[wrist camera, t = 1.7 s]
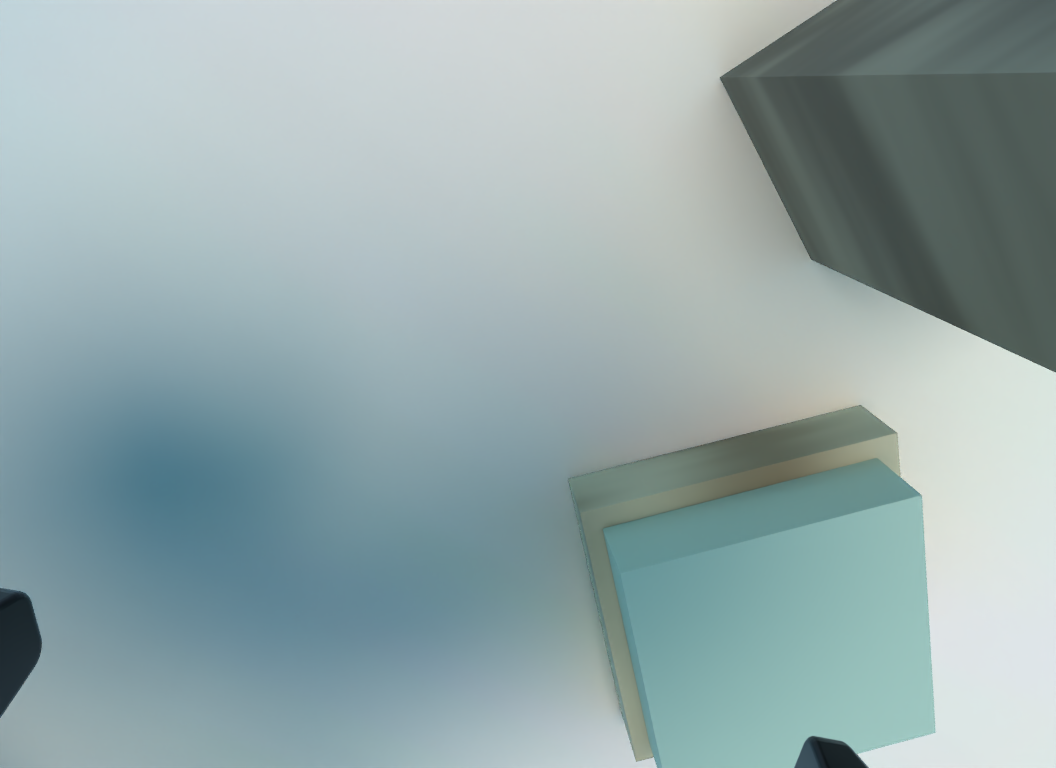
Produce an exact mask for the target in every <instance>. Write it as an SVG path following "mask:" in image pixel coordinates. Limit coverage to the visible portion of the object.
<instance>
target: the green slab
mask: <svg viewBox="0 0 1056 768" xmlns="http://www.w3.org/2000/svg"><path fill="white" fill-rule="evenodd" d="M603 533H604V538H605V542H606V547H607V551H608V556H609V561H610V565H611V570H612V574H613V579H614V583H615V588H616V593H617V597H618V602H619V606H620V611H621V615H622V620H623V625H624V629H625V634H626V638H627V643H628V647H629V652H630V657H631V661H632V666H633V670H634V675H635V680H636V684H637V689H638V693H639V698H640V702H641V707H642V712H643V716H644V721H645V725H646V730H647V734H648V739H649V744H650V747H651V750H652V753H653V756H654V759H655V762H656V765H657V768H794V767H795V764H796V762H797V759H798V757H799V754H800V752H801V749H802V747H803V744H804V742H805V741H806V739H807V738H808V737H810V736H818V737H823V738H829V739H834V740H839V741H843V742H845V743H846V744H847V745H849V746H850V747H851V748H852V749H853V750H854V752H855V753H856V754H858V753H862V752H866V751H869V750H873V749H877V748H880V747H884V746H888V745H892V744H895V743H899V742H903V741H906V740H910V739H914V738H918V737H921V736H925V735H929V734H932V733H935V716H934V698H933V681H932V664H931V647H930V630H929V613H928V595H927V578H926V561H925V544H924V527H923V510H922V495H921V494H920V493H918V492H917V491H916V490H915V489H914V488H912V487H911V486H910V485H909V484H908V483H906V482H905V481H904V480H903V479H902V478H900V477H899V476H898V475H897V474H896V473H895V472H893V471H892V470H891V469H890V468H889V467H887V466H886V465H885V464H884V463H883V462H881V461H880V460H879V459H878V458H874V459H870V460H866V461H863V462H859V463H855V464H851V465H847V466H843V467H839V468H835V469H832V470H828V471H824V472H820V473H816V474H812V475H808V476H804V477H800V478H797V479H793V480H789V481H785V482H781V483H777V484H773V485H769V486H766V487H762V488H758V489H754V490H750V491H746V492H742V493H738V494H735V495H731V496H727V497H723V498H719V499H715V500H711V501H707V502H704V503H700V504H696V505H692V506H688V507H684V508H680V509H676V510H673V511H669V512H665V513H661V514H657V515H653V516H649V517H645V518H642V519H638V520H634V521H630V522H626V523H622V524H618V525H614V526H611V527H607V528H603Z"/></svg>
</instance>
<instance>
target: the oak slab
mask: <svg viewBox="0 0 1056 768" xmlns="http://www.w3.org/2000/svg"><path fill="white" fill-rule="evenodd" d="M874 458H878V459H879V460H880V461H881V462H883V463H884V464H885V465H886V466H887V467H889V468H890V469H891V470H892V471H893V472H895V473H896V474H897V475H898V476H899V477H900V466H899V451H898V436H897V432H895V431H894V430H893V429H891V428H890V427H889V426H887V425H886V424H885V423H883V422H882V421H881V420H879V419H878V418H877V417H876V416H874V415H873V414H872V413H870V412H869V411H868V410H866V409H865V408H864V407H862V406H861V405H859V406H855V407H851V408H847V409H843V410H839V411H835V412H831V413H827V414H823V415H819V416H815V417H811V418H807V419H803V420H799V421H795V422H791V423H787V424H783V425H779V426H775V427H771V428H767V429H763V430H759V431H756V432H752V433H748V434H744V435H740V436H736V437H732V438H728V439H724V440H720V441H716V442H712V443H708V444H704V445H700V446H696V447H692V448H688V449H684V450H680V451H676V452H672V453H668V454H664V455H660V456H656V457H652V458H648V459H644V460H640V461H637V462H633V463H629V464H625V465H621V466H617V467H613V468H609V469H605V470H601V471H597V472H593V473H589V474H585V475H581V476H577V477H573V478H569V479H568V480H569V484H570V489H571V493H572V498H573V502H574V506H575V511H576V515H577V520H578V524H579V528H580V533H581V537H582V541H583V546H584V550H585V555H586V559H587V563H588V568H589V572H590V577H591V581H592V585H593V590H594V594H595V599H596V603H597V607H598V612H599V616H600V620H601V625H602V629H603V634H604V638H605V642H606V647H607V651H608V656H609V660H610V664H611V669H612V673H613V677H614V682H615V686H616V691H617V695H618V699H619V704H620V708H621V713H622V716H623V720H624V723H625V726H626V730H627V733H628V736H629V739H630V743H631V746H632V749H633V752H634V756H635V759H636V762H637V761H641V760H645V759H649V758H652V757H654V756H653V753H652V750H651V747H650V744H649V739H648V734H647V730H646V725H645V721H644V716H643V712H642V707H641V702H640V698H639V693H638V689H637V684H636V680H635V675H634V670H633V666H632V661H631V657H630V652H629V647H628V643H627V638H626V634H625V629H624V625H623V620H622V615H621V611H620V606H619V602H618V597H617V593H616V588H615V583H614V579H613V574H612V570H611V565H610V561H609V556H608V551H607V547H606V542H605V538H604V533H603V528H607V527H611V526H614V525H618V524H622V523H626V522H630V521H634V520H638V519H642V518H645V517H649V516H653V515H657V514H661V513H665V512H669V511H673V510H676V509H680V508H684V507H688V506H692V505H696V504H700V503H704V502H707V501H711V500H715V499H719V498H723V497H727V496H731V495H735V494H738V493H742V492H746V491H750V490H754V489H758V488H762V487H766V486H769V485H773V484H777V483H781V482H785V481H789V480H793V479H797V478H800V477H804V476H808V475H812V474H816V473H820V472H824V471H828V470H832V469H835V468H839V467H843V466H847V465H851V464H855V463H859V462H863V461H866V460H870V459H874Z"/></svg>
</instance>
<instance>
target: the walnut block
mask: <svg viewBox="0 0 1056 768" xmlns="http://www.w3.org/2000/svg"><path fill="white" fill-rule="evenodd" d="M720 79H721V81H722V83H723V85H724V87H725V89H726V91H727V93H728V95H729V97H730V98H731V100H732V102H733V104H734V106H735V108H736V110H737V112H738V114H739V116H740V118H741V120H742V122H743V124H744V126H745V128H746V130H747V132H748V134H749V136H750V138H751V140H752V142H753V144H754V146H755V148H756V150H757V152H758V154H759V156H760V158H761V160H762V162H763V164H764V166H765V168H766V170H767V172H768V174H769V176H770V178H771V180H772V182H773V184H774V186H775V188H776V190H777V192H778V194H779V196H780V198H781V200H782V202H783V204H784V206H785V208H786V210H787V212H788V214H789V216H790V218H791V220H792V222H793V224H794V226H795V228H796V230H797V232H798V234H799V236H800V238H801V240H802V242H803V244H804V246H805V248H806V250H807V252H808V254H809V256H810V258H811V259H812V260H814V261H816V262H818V263H820V264H822V265H824V266H827V267H829V268H831V269H833V270H835V271H837V272H840V273H842V274H844V275H846V276H848V277H850V278H853V279H855V280H857V281H859V282H861V283H863V284H866V285H868V286H870V287H872V288H874V289H876V290H879V291H881V292H883V293H885V294H887V295H889V296H891V297H894V298H896V299H898V300H900V301H902V302H904V303H907V304H909V305H911V306H913V307H915V308H917V309H920V310H922V311H924V312H926V313H928V314H930V315H933V316H935V317H937V318H939V319H941V320H943V321H946V322H948V323H950V324H952V325H954V326H956V327H959V328H961V329H963V330H965V331H967V332H969V333H972V334H974V335H976V336H978V337H980V338H982V339H984V340H987V341H989V342H991V343H993V344H995V345H997V346H1000V347H1002V348H1004V349H1006V350H1008V351H1010V352H1013V353H1015V354H1017V355H1019V356H1021V357H1023V358H1026V359H1028V360H1030V361H1032V362H1034V363H1036V364H1039V365H1041V366H1043V367H1045V368H1047V369H1049V370H1052V371H1054V372H1056V0H837V1H835V2H834V3H832V4H831V5H829V6H828V7H826V8H825V9H823V10H822V11H820V12H819V13H817V14H816V15H814V16H813V17H811V18H810V19H808V20H807V21H805V22H803V23H802V24H800V25H799V26H797V27H796V28H794V29H793V30H791V31H790V32H788V33H787V34H785V35H784V36H782V37H781V38H779V39H778V40H776V41H775V42H773V43H772V44H770V45H769V46H767V47H765V48H764V49H762V50H761V51H759V52H758V53H756V54H755V55H753V56H752V57H750V58H749V59H747V60H746V61H744V62H743V63H741V64H740V65H738V66H737V67H735V68H734V69H732V70H731V71H729V72H727V73H726V74H724V75H723V76H721V77H720Z"/></svg>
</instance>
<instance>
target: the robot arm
mask: <svg viewBox="0 0 1056 768" xmlns="http://www.w3.org/2000/svg"><path fill="white" fill-rule="evenodd" d="M41 648H42V639H41V635H40V631H39V628H38V624H37V621H36V617H35V613H34V610H33V606H32V602H31V600H30V598H29V596H28V595H27V594H26V593H23V592H21V591H16V590H10V589H4V588H0V718H1V716H2V715H3V713H4V712H5V710H6V709H7V707H8V706H9V704H10V703H11V701H12V700H13V698H14V697H15V695H16V694H17V692H18V691H19V690H20V688H21V687H22V685H23V684H24V682H25V681H26V679H27V678H28V676H29V675H30V673H31V672H32V670H33V669H34V667H35V665H36V664H37V661H38V659H39V657H40V653H41ZM794 768H868V766H867V765H866V764H865V763H864V762H863V761H862V760H861V758H860V757H859V756H858V755H857V754H856V753H855V752H854V750H853V749H852V748H851V747H850V746H849V745H847V744H846V743H845V742H843V741H839V740H834V739H829V738H823V737H818V736H810V737H808V738H807V739H806V741H805V742H804V744H803V747H802V749H801V752H800V754H799V757H798V759H797V762H796V764H795V767H794Z"/></svg>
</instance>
